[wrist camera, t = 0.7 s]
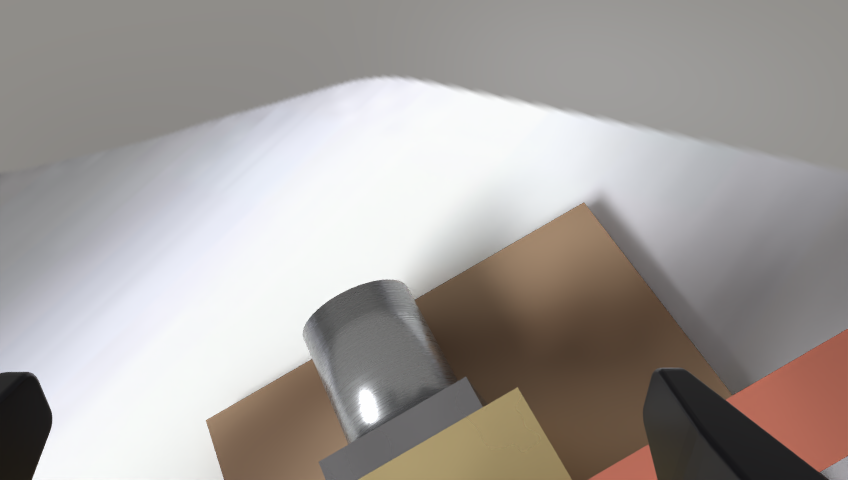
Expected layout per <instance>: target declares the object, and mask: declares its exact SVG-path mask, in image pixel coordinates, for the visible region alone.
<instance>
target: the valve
mask: <svg viewBox="0 0 848 480" xmlns="http://www.w3.org/2000/svg"><path fill="white" fill-rule="evenodd" d="M303 338H304V340H305V343H306V345H307V347H308V350H309V352H310V355H311V357H312V359H313V362H314V364H315V367H316V369H317V371H318V374H319V376H320V378H321V381H322V383H323V386H324V388H325V390H326V393H327V395H328V397H329V400H330V402H331V405H332V407H333V409H334V412H335V414H336V417H337V419H338V421H339V424H340V426H341V428H342V431H343V433H344V436H345V438H346V440H347V443H348V445H347V446H345V447H343V448H342V449H340V450H338V451H336V452H335V453H333V454H331V455H329V456H328V457H326V458H324V459H322V460H321V461H319V464H320V467H321V470H322V472H323V475H324V477H325V480H572V479H571V477H570V476H569V474H568V472H567V470H566V469H565V467H564V465H563V464H562V462H561V460H560V459H559V457H558V455H557V453H556V452H555V450H554V448H553V447H552V445H551V443H550V442H549V440H548V438H547V436H546V435H545V433H544V431H543V430H542V428H541V426H540V425H539V423H538V421H537V419H536V418H535V416H534V414H533V413H532V411H531V409H530V408H529V406H528V404H527V402H526V401H525V399H524V397H523V396H522V394H521V392H520V391H519V389H518V387H517V388H515V389H514V390H512V391H510V392H508V393H507V394H505V395H503V396H502V397H500V398H498V399H496V400H495V401H493V402H491V403H489V404H487V403H486V402H485V400H484V399H483V398H482V396H481V395H480V394H479V393H478V391H477V390H476V389H475V387H474V386H473V385H472V384H471V382H470V381H469V380H468V378H467V377H464V378H463V379H461V380H459V381H458V380H457V378H456V376H455V375H454V373H453V371H452V369H451V367H450V365H449V363H448V362H447V360H446V358H445V356H444V354H443V352H442V350H441V349H440V347H439V345H438V343H437V341H436V339H435V337H434V336H433V334H432V332H431V330H430V328H429V326H428V324H427V323H426V321H425V319H424V317H423V315H422V313H421V311H420V310H419V308H418V306H417V304H416V302H415V300H414V298H413V297H412V295H411V293H410V291H409V289H408V287H407V286H406V285H405V284H404V283H402V282H400V281H397V280H379V281H373V282H369V283H365V284H362V285H359V286H357V287H354V288H351V289H349V290H347V291H345V292H343V293H341V294H339V295H337V296H336V297H334V298H333V299H331V300H329V301H328V302H327V303H325V304H324V305H323V306H321V307H320V308H319V309H318V310H317V311H316V312H315V313H314V314H313V315H312V316H311V317H310V318H309V320H308V321H307V323H306V325H305V327H304V330H303Z"/></svg>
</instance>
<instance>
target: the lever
mask: <svg viewBox="0 0 848 480" xmlns="http://www.w3.org/2000/svg"><path fill="white" fill-rule="evenodd" d="M726 401H728V402H729V403H730V404H731V405H733V406H734V407H735V408H737V409H738V410H739V411H741V412H742V413H743V414H744V415H746V416H747V417H748V418H750V419H751V420H752V421H753V422H755V423H756V424H757V425H759V426H760V427H761V428H763V429H764V430H765V431H766V432H768V433H769V434H770V435H772V436H773V437H774V438H775V439H777V440H778V441H779V442H781V443H782V444H783V445H785V446H786V447H787V448H788V449H790V450H791V451H792V452H794V453H795V454H796V455H798V456H799V457H800V458H801V459H803V460H804V461H805V462H807V463H808V464H809V465H810V466H812V467H813V468H814V469H816V470H817V471H818V472H821V471H823V470H824V469H826V468H828V467H829V466H831V465H833V464H835V463H836V462H838V461H840V460H841V459H843V458H845V457H847V456H848V329H846V330H845V331H843V332H841V333H839V334H838V335H836V336H834V337H833V338H831V339H829V340H827V341H826V342H824V343H822V344H821V345H819V346H817V347H815V348H814V349H812V350H810V351H808V352H807V353H805V354H803V355H802V356H800V357H798V358H796V359H795V360H793V361H791V362H790V363H788V364H786V365H784V366H783V367H781V368H779V369H777V370H776V371H774V372H772V373H771V374H769V375H767V376H765V377H764V378H762V379H760V380H759V381H757V382H755V383H753V384H752V385H750V386H748V387H746V388H745V389H743V390H741V391H740V392H738V393H736V394H734V395H733V396H731V397H729V398H728V399H726ZM588 480H657V476H656V472H655V468H654V464H653V460H652V456H651V452H650V447H649V444H648V445H647V446H645V447H643V448H641V449H640V450H638V451H636V452H635V453H633V454H631V455H629V456H628V457H626V458H624V459H623V460H621V461H619V462H617V463H616V464H614V465H612V466H610V467H609V468H607V469H605V470H604V471H602V472H600V473H598V474H597V475H595V476H593V477H592V478H590V479H588Z"/></svg>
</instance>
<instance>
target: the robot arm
mask: <svg viewBox="0 0 848 480" xmlns="http://www.w3.org/2000/svg"><path fill="white" fill-rule="evenodd" d="M643 423H644V427H645V431H646V435H647V439H648V443H649V447H650V452H651V456H652V460H653V464H654V468H655V472H656V476H657V480H829V479H827V478H826V477H825V476H823V475H822V474H821V473H820V472H818V471H817V470H816V469H814V468H813V467H812V466H810V465H809V464H808V463H807V462H805V461H804V460H803V459H801V458H800V457H799V456H798V455H796V454H795V453H794V452H792V451H791V450H790V449H788V448H787V447H786V446H785V445H783V444H782V443H781V442H779V441H778V440H777V439H775V438H774V437H773V436H772V435H770V434H769V433H768V432H766V431H765V430H764V429H763V428H761V427H760V426H759V425H757V424H756V423H755V422H753V421H752V420H751V419H750V418H748V417H747V416H746V415H744V414H743V413H742V412H741V411H739V410H738V409H737V408H735V407H734V406H733V405H731V404H730V403H729V402H728V401H726V400H725V399H724V398H722V397H721V396H720V395H719V394H717V393H716V392H715V391H713V390H712V389H711V388H709V387H708V386H707V385H706V384H704V383H703V382H702V381H700V380H699V379H698V378H697V377H695V376H694V375H693V374H691V373H690V372H689V371H687V370H686V369H683V368H657V369H656V370H654V372H653V373H652V376H651V379H650V383H649V387H648V391H647V395H646V398H645V402H644V406H643ZM51 426H52V412H51V409H50V407H49V404H48V402H47V400H46V397H45V395H44V392H43V390H42V388H41V385H40V383H39V381H38V379H37V377H36V376H35V375H34V374H33V373H29V372H5V373H0V480H32V478H33V475H34V472H35V470H36V467H37V464H38V462H39V459H40V457H41V454H42V451H43V449H44V446H45V443H46V441H47V438H48V435H49V433H50V430H51Z"/></svg>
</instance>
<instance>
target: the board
mask: <svg viewBox="0 0 848 480" xmlns="http://www.w3.org/2000/svg"><path fill="white" fill-rule="evenodd" d="M415 302H416V304H417V306H418V308H419V310H420V311H421V313H422V315H423V317H424V319H425V321H426V323H427V324H428V326H429V328H430V330H431V332H432V334H433V336H434V337H435V339H436V341H437V343H438V345H439V347H440V349H441V350H442V352H443V354H444V356H445V358H446V360H447V362H448V363H449V365H450V367H451V369H452V371H453V373H454V375H455V376H456V378H457V380H458V381H459V380H461V379H463V378H464V377H467V378H468V380H469V381H470V382H471V384H472V385H473V386H474V387H475V389H476V390H477V391H478V393H479V394H480V395H481V396H482V398H483V399H484V400H485V402H486V403H487V404H489V403H491V402H493V401H495V400H496V399H498V398H500V397H502V396H503V395H505V394H507V393H508V392H510V391H512V390H514V389H515V388H517V387H518V389H519V391H520V392H521V394H522V396H523V397H524V399H525V401H526V402H527V404H528V406H529V408H530V409H531V411H532V413H533V414H534V416H535V418H536V419H537V421H538V423H539V425H540V426H541V428H542V430H543V431H544V433H545V435H546V436H547V438H548V440H549V442H550V443H551V445H552V447H553V448H554V450H555V452H556V453H557V455H558V457H559V459H560V460H561V462H562V464H563V465H564V467H565V469H566V470H567V472H568V474H569V476H570V477H571V479H572V480H588V479H590V478H592V477H593V476H595V475H597V474H598V473H600V472H602V471H604V470H605V469H607V468H609V467H610V466H612V465H614V464H616V463H617V462H619V461H621V460H623V459H624V458H626V457H628V456H629V455H631V454H633V453H635V452H636V451H638V450H640V449H641V448H643V447H645V446H647V445H648V444H649V443H648V439H647V435H646V431H645V427H644V423H643V406H644V402H645V398H646V395H647V391H648V387H649V383H650V379H651V376H652V373H653V372H654V370H656V369H657V368H683V369H686V370H687V371H689V372H690V373H691V374H693V375H694V376H695V377H697V378H698V379H699V380H700V381H702V382H703V383H704V384H706V385H707V386H708V387H709V388H711V389H712V390H713V391H715V392H716V393H717V394H719V395H720V396H721V397H722V398H724V399H725V400H726V399H728V398H729V397H731V396H733V395H732V394H731V393H730V391H729V390H728V389H727V387H726V386H725V385H724V384H723V382H722V381H721V380H720V378H719V377H718V376H717V374H716V373H715V372H714V371H713V369H712V368H711V367H710V365H709V364H708V363H707V361H706V360H705V359H704V358H703V356H702V355H701V354H700V352H699V351H698V350H697V348H696V347H695V346H694V345H693V343H692V342H691V341H690V339H689V338H688V337H687V335H686V334H685V333H684V332H683V330H682V329H681V328H680V326H679V325H678V324H677V323H676V321H675V320H674V319H673V317H672V316H671V315H670V313H669V312H668V311H667V310H666V308H665V307H664V306H663V304H662V303H661V302H660V300H659V299H658V298H657V297H656V295H655V294H654V293H653V291H652V290H651V289H650V287H649V286H648V285H647V284H646V282H645V281H644V280H643V278H642V277H641V276H640V274H639V273H638V272H637V271H636V269H635V268H634V267H633V265H632V264H631V263H630V262H629V260H628V259H627V258H626V256H625V255H624V254H623V252H622V251H621V250H620V249H619V247H618V246H617V245H616V243H615V242H614V241H613V239H612V238H611V237H610V236H609V234H608V233H607V232H606V230H605V229H604V228H603V226H602V225H601V224H600V223H599V221H598V220H597V219H596V217H595V216H594V215H593V213H592V212H591V211H590V210H589V208H588V207H587V206H586V204H585V203H582V204H580V205H579V206H577V207H575V208H573V209H572V210H570V211H568V212H566V213H565V214H563V215H561V216H559V217H558V218H556V219H554V220H552V221H551V222H549V223H547V224H546V225H544V226H542V227H540V228H539V229H537V230H535V231H533V232H532V233H530V234H528V235H526V236H525V237H523V238H521V239H520V240H518V241H516V242H514V243H513V244H511V245H509V246H507V247H506V248H504V249H502V250H500V251H499V252H497V253H495V254H494V255H492V256H490V257H488V258H487V259H485V260H483V261H481V262H480V263H478V264H476V265H474V266H473V267H471V268H469V269H468V270H466V271H464V272H462V273H461V274H459V275H457V276H455V277H454V278H452V279H450V280H448V281H447V282H445V283H443V284H442V285H440V286H438V287H436V288H435V289H433V290H431V291H429V292H428V293H426V294H424V295H422V296H421V297H419V298H417V299H416V300H415ZM206 422H207V425H208V429H209V432H210V435H211V438H212V442H213V445H214V448H215V451H216V455H217V458H218V461H219V464H220V468H221V471H222V474H223V477H224V480H325V477H324V475H323V472H322V470H321V467H320V464H319V461H321V460H322V459H324V458H326V457H328V456H329V455H331V454H333V453H335V452H336V451H338V450H340V449H342V448H343V447H345V446H347V445H348V443H347V440H346V438H345V436H344V433H343V431H342V428H341V426H340V424H339V421H338V419H337V417H336V414H335V412H334V409H333V407H332V405H331V402H330V400H329V397H328V395H327V393H326V390H325V388H324V386H323V383H322V381H321V378H320V376H319V374H318V371H317V369H316V367H315V364H314V362H313V359H311V360H310V361H308V362H306V363H305V364H303V365H301V366H299V367H298V368H296V369H294V370H292V371H291V372H289V373H287V374H285V375H284V376H282V377H280V378H279V379H277V380H275V381H273V382H272V383H270V384H268V385H266V386H265V387H263V388H261V389H259V390H258V391H256V392H254V393H253V394H251V395H249V396H247V397H246V398H244V399H242V400H240V401H239V402H237V403H235V404H233V405H232V406H230V407H228V408H227V409H225V410H223V411H221V412H220V413H218V414H216V415H214V416H213V417H211V418H209V419H207V420H206Z"/></svg>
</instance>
